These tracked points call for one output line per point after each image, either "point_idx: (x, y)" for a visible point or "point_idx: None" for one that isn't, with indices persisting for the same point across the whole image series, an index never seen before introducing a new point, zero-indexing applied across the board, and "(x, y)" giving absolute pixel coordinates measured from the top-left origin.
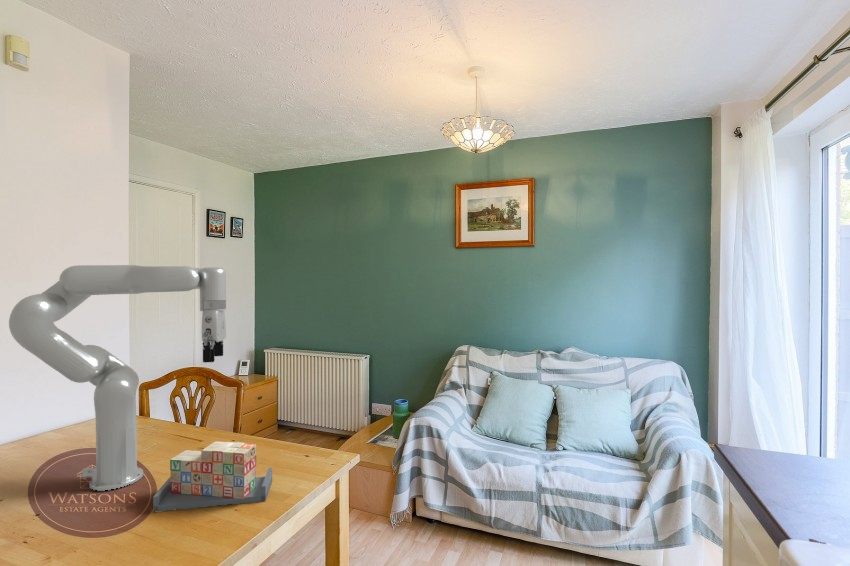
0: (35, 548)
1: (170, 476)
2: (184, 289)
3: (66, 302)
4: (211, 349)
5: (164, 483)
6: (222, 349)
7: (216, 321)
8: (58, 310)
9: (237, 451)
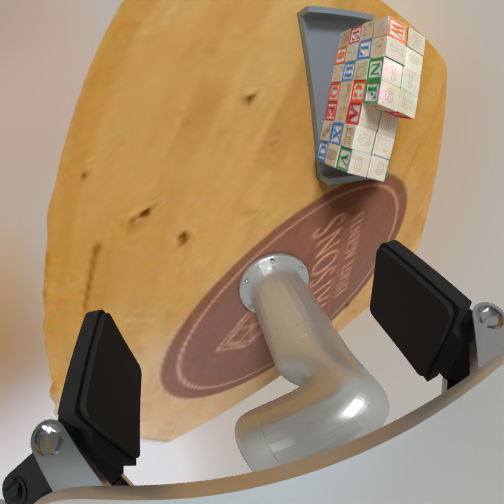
0: None
1: (330, 184)
2: None
3: None
4: (480, 309)
5: (352, 181)
6: (87, 359)
7: None
8: None
9: (419, 49)
